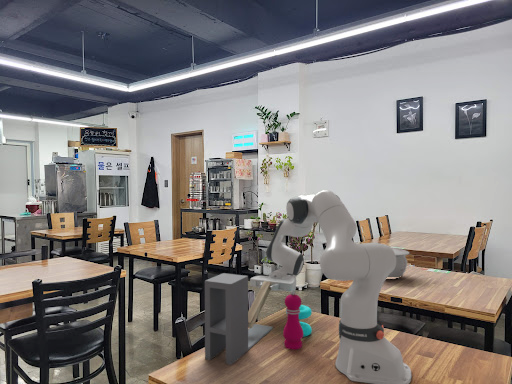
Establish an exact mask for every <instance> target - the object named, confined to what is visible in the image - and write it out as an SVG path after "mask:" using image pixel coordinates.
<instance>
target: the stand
mask: <svg viewBox="0 0 512 384" xmlns="http://www.w3.org/2000/svg"><path fill="white" fill-rule="evenodd" d="M248 311H249V275H243V274H242V275H241V274H235V273H225V272H224V273H220V274H219V275H215V276H213V277H211V278H209V279H206V280H204V359H205V360H208V361H210V360H212V359H214V357H216V356H217V355H219V354H220V353H221V352H222V351H224V350H225V364H226V365H229V366H232V365H233V364H234V363H236V361H238V360H240V358H241V357H243V355H244V354H245V353H247V352H248V351H249V350H248V329H249V328H248Z"/></svg>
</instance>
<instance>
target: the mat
mask: <svg viewBox="0 0 512 384" xmlns="http://www.w3.org/2000/svg"><path fill="white" fill-rule="evenodd" d="M273 329H274V326H270V325H265V324H264V325H263V324H259V323H254V326H253V328H248V351H249V350H250V349H251V348H253V347H254V346H255V345H256V344H257V343H258V342H260V340H262V339H263V338H264V337H265V336H267V334H268V333H270V332H271V331H272V330H273Z"/></svg>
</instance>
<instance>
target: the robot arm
mask: <svg viewBox="0 0 512 384" xmlns="http://www.w3.org/2000/svg"><path fill="white" fill-rule="evenodd" d="M286 215H287V218H283V219H282V220H281V221H280V222H279V223H278V225H277V227H276V229H275V232H274V234H273V236H272V238H271V241H270V243H269V245H268V246H267V248H266V250H265V255H266V258H267V260H268V261H270V262H273V263H275V264H277V265H279V266H280V268H278V269H276V270H274V271H272V272H271V273H269V274H268V275H255V276H253V277H251V278H250V280H249V284H250V287H254V288H259V290H260V288H261V286H262V284H263V282H264V281H269V282H271V285H270V286H269V290H270V291H277V292H278V291H280V292H281V291H284V292H290V293H291V291H292V290H294V291H296V289H297V277H298V276H299V275H300V273H301V272H302V269H303V268H304V265H305V258H304V255H303V254H302V253H301V252H299V251H297V250H296V249H295V248H294V249H293V248H292V247H289V246H288V245H286V244H285V243H283V239H284V237H285V236H288V237H294V238H301V237H305V236H307V235H308V234H309V233H310V232H311V230H312V228H313V225H314V223H316V224H317V223H318V225H319V227H320V229H321V231H322V233H323V235H324V237H325V239H326V247H325V248H324V249H323V250H322V253H321V255H320V256H319V257H320V258H319V267H320V270H321V272H322V273H323V275H324V276H325V277H326V278H327V279H328V280H332V281H341V282H345V281H346V282H347V281H352V283H351V285H350V286H349V288H347V289H346V290H345V291H344V292H343V293H342V295H341V297H340V320H338V321H339V322H338V338H339V343H338V344H339V345H338V353H337V357H336V360H335V367H336V369H337V370H338V371H339V372H340V373H342V374H344V375H345V376H346V377H347V378H348V379H349V381H351V382H359V383H365V384H410V383H411V381H412V376H413V375H412V370H411V367H410V366H409V365H408V364H407V363H405V362H404V359H403V355H402V352H401V351H400V349H399V348H398V347H396V346H395V345H394V344H393V343H392V342H390V341H389V340H388V339H387V338H386V337H385V330H384V329H385V328H384V324H382V325H381V324H380V323H378V300H379V296H380V292H381V290H382V287H383V286H384V283H385V281H387V280H386V278H387V277H388V276H389V274H390V273H392V272H393V270H394V269H395V266H396V255H395V253H394V251H393V250H392V248H393V247H391V246H390V245H388V244H384V243H381V242H380V243H379V242H378V243H377V242H363V243H356V242H354V241H353V238H354V237H355V236H356V233H357V228H358V226H357V223H356V221H355V220H354V218H353V217H352V215H351V213H350V212H349V210H348V208H347V207H346V206H345V204H344V203H343V201H342V200H341V199H340V197H339V195H337V194H335V193H334V192H333V191H332V190H328V189H327V190H326V189H324V190H320V191H318V192H317V193H316V194H314V193H313V194H300V195H298V196H294V197H291V198H290V199H288V201H287V202H286Z"/></svg>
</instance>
